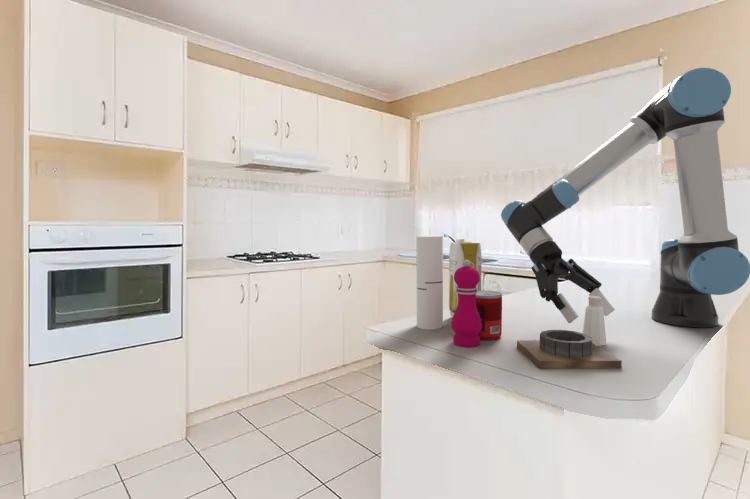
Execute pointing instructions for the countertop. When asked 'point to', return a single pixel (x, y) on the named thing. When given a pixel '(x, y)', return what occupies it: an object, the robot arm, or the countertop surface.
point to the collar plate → (565, 361)
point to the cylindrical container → (429, 282)
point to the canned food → (490, 314)
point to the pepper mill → (466, 307)
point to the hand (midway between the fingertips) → (592, 316)
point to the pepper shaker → (595, 321)
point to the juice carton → (456, 258)
